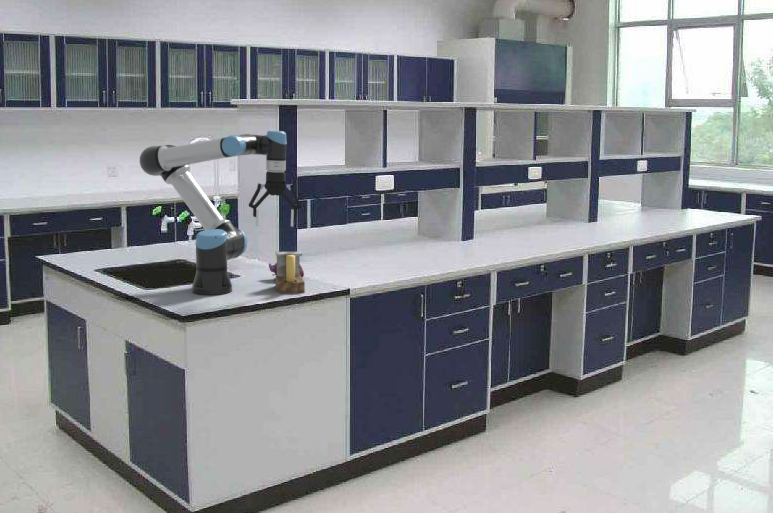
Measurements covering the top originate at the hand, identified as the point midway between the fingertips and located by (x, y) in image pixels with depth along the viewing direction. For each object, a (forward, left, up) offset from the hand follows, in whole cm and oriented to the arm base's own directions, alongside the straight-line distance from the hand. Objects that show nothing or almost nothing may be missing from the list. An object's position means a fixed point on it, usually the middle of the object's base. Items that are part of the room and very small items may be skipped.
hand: (274, 225), depth 328 cm
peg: (+6, -5, -25) cm, 26 cm away
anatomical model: (+7, +19, -25) cm, 32 cm away
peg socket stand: (+6, -1, -25) cm, 26 cm away
